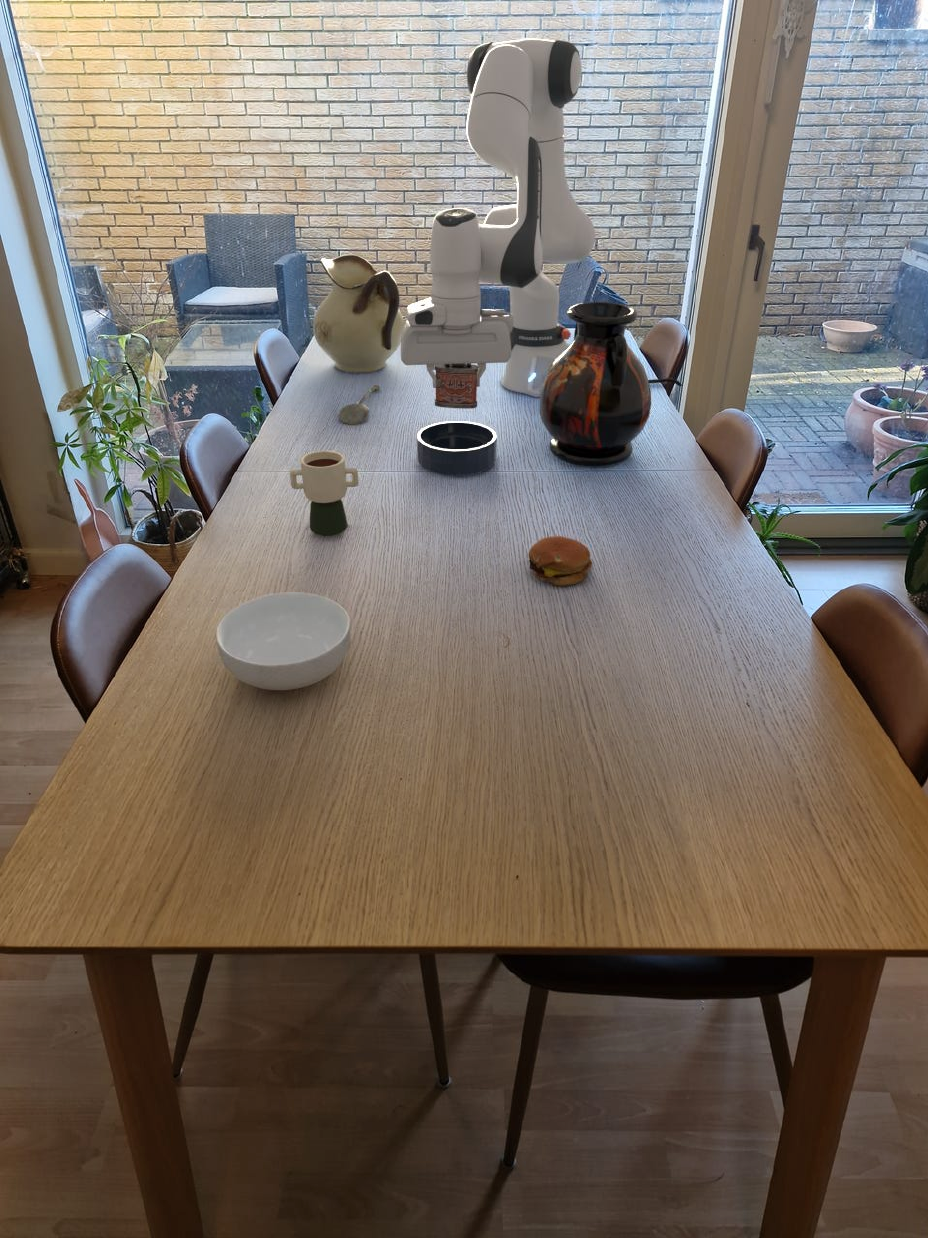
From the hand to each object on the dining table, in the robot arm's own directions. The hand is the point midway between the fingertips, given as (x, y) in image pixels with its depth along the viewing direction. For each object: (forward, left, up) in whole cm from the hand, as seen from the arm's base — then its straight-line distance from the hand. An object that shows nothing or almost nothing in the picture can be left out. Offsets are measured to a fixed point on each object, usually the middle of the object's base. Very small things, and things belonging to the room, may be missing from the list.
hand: (455, 386), depth 165 cm
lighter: (0, 0, -4) cm, 4 cm away
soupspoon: (+18, -33, -15) cm, 40 cm away
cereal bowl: (+28, +66, -15) cm, 73 cm away
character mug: (+24, +27, -15) cm, 39 cm away
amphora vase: (-27, -2, -15) cm, 31 cm away
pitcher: (+18, -63, -15) cm, 67 cm away
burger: (-12, +44, -15) cm, 48 cm away
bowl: (0, 0, -15) cm, 15 cm away
